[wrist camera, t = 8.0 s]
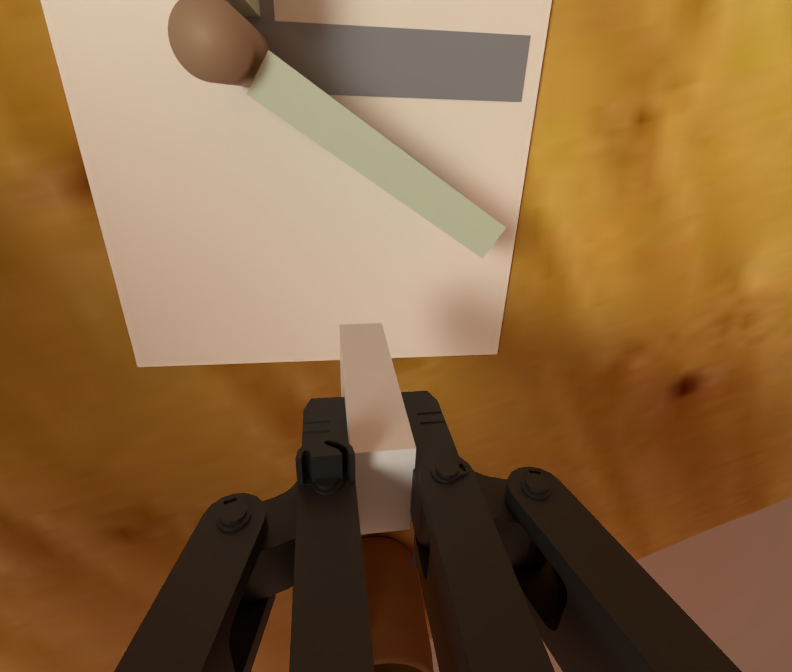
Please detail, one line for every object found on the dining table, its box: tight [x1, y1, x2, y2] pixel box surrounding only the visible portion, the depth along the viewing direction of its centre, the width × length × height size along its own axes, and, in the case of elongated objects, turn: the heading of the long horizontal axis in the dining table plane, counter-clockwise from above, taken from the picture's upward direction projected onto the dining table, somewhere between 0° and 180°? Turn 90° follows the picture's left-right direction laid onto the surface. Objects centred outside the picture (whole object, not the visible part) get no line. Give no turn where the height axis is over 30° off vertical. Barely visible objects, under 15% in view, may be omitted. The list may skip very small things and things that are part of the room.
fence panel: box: [247, 50, 506, 259], centre depth 20 cm, size 2×11×6 cm, turn 55°
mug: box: [361, 537, 434, 672], centre depth 33 cm, size 12×8×9 cm, turn 20°
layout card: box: [40, 0, 552, 367], centre depth 21 cm, size 22×32×1 cm
